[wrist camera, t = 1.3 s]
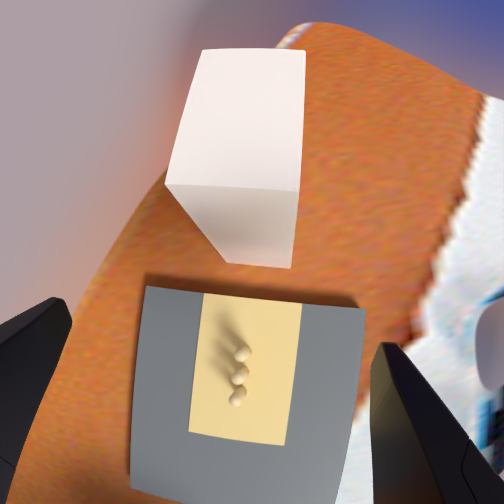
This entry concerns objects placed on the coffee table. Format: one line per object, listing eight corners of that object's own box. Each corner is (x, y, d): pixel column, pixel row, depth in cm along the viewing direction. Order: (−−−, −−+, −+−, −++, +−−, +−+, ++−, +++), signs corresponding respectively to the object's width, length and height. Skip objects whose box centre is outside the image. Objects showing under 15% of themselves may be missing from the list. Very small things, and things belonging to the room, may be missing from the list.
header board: (328, 512, 17) (335, 540, 13) (136, 481, 18) (113, 502, 14) (361, 310, 20) (378, 305, 16) (153, 287, 22) (128, 278, 18)
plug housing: (290, 268, 21) (298, 191, 9) (226, 262, 22) (164, 184, 10) (297, 179, 22) (305, 50, 11) (239, 175, 23) (202, 49, 11)
